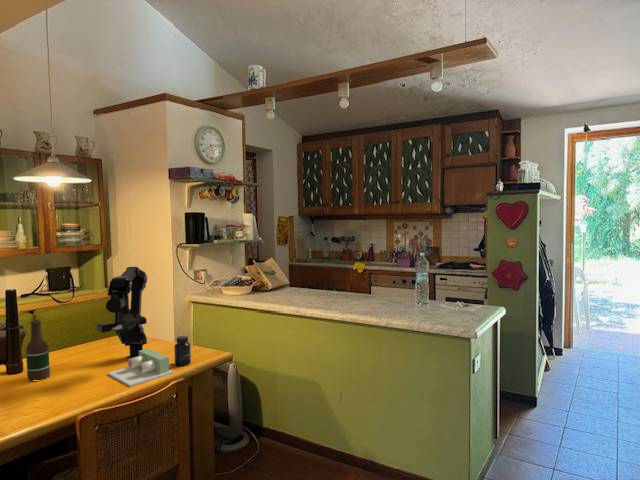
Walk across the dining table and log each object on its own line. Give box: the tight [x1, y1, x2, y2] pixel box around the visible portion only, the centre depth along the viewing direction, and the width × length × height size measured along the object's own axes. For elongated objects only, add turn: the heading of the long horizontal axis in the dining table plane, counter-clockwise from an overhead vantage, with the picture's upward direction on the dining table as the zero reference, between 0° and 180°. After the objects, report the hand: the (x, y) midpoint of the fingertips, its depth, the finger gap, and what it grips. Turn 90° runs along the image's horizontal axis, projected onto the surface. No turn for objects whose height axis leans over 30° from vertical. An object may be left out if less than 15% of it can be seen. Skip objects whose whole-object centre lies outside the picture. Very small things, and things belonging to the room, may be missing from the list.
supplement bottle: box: [173, 335, 192, 367], centre depth 193 cm, size 7×7×12 cm
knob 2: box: [138, 360, 157, 373], centre depth 181 cm, size 12×4×4 cm, turn 139°
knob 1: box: [127, 355, 146, 368], centre depth 187 cm, size 12×4×4 cm, turn 139°
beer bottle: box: [25, 319, 51, 382], centre depth 178 cm, size 8×8×24 cm
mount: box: [107, 348, 174, 388], centre depth 181 cm, size 20×18×7 cm
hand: (123, 343), depth 184 cm, fingers closed
